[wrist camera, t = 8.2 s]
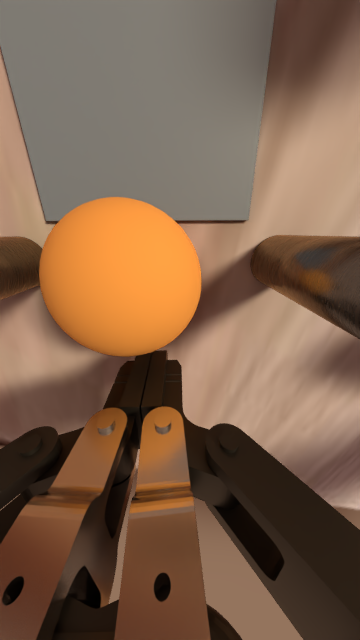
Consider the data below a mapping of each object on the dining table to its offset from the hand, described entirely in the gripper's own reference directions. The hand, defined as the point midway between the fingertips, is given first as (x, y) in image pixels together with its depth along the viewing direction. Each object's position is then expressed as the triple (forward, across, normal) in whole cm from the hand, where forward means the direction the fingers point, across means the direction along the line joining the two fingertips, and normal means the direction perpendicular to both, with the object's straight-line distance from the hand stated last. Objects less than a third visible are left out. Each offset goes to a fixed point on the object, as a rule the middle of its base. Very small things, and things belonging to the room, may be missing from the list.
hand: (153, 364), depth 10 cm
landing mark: (+3, 0, -12) cm, 12 cm away
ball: (0, +1, -4) cm, 5 cm away
